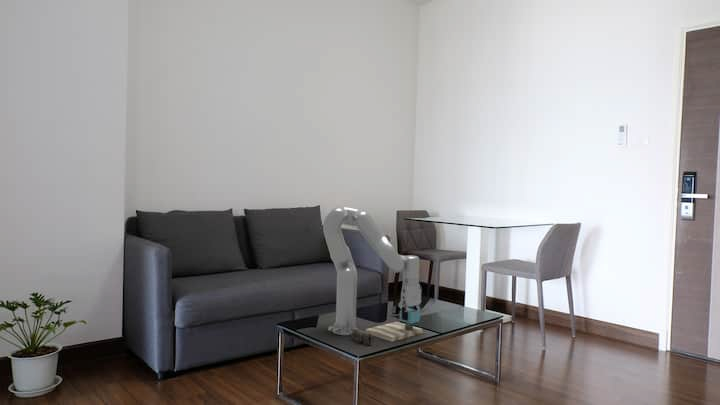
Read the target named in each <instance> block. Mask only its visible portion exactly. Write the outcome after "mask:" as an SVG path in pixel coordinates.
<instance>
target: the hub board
mask: <svg viewBox="0 0 720 405" xmlns="http://www.w3.org/2000/svg"><path fill="white" fill-rule="evenodd" d="M423 330H424V328H421V327H417V326H414V323H411V324H410V323H406V322H404V323H403V322H402V323H401V322H399V321H394V322H390V323H385V324H382V325H381V324H380V325H377V326H373V327H370V328H365V331H367V332H369V333H370V334H371V336H372V337H376V338H379V339H383V340H385V341H389V342H392V343H393V342H397V341H399V340H403V339H407V338H410V336H411V337H414V336H417V334H418V335H421V334H423V333H424V331H423ZM420 333H421V334H420Z"/></svg>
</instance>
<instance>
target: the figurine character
mask: <svg viewBox="0 0 720 405" xmlns="http://www.w3.org/2000/svg"><path fill="white" fill-rule="evenodd" d="M404 308H406V307H404ZM408 308H410V309H413V306H411V307H408ZM400 310H401V309H400V307H399V306H398V304H396V305H394V306H391V308H390V311H391V313H392V314H395V316H397V317H396V318H400Z"/></svg>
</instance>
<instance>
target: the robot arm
mask: <svg viewBox="0 0 720 405" xmlns="http://www.w3.org/2000/svg"><path fill="white" fill-rule="evenodd" d="M342 225H344V226H352V227H356V228H357V229H358V231H359V232H360V234H362V236H363V237H364V239H365V240H366V241H367V242H368V244H369V245H370V246H371V247H372V249H373V250H374V251H375V253H377V255H378V256H379V257H380V259H381V260H382V261H383V262H384V264H385V265H386V266H387V268H388V270H390V271H391V272H393V273H397V274H398V273H401V272H402V285H401V286H402V287H401V292H400V301H399V302H398V304H397V305H398V306H399V307H400V309H401V311H402V320H406V321H407V320H408V312H407V310H408V307H411V306H413V309H415V310H418V309H419V306H420V307H421V303H422V302H423V301H422V291H421V292H420V286H421V284H420V282H419V281H420V280H419V279H420V257H419V256H417V255H409V254H408V255H402V254H399V253H398V251H397V250H396V248H394V246H393V245H392V243H391V242H390V240H389V239H388V237H387V236H386V234H385V233H384V231H383V229H381V228H380V226H379V225H378V224H377V223H376V221H375V220H374V219H373V217H372V216H371V215H370V213H369V212H368V211H366V210H363V209H357V208H356V209H355V208H350V207H345V206H335V207H333V208H332V209H331V210H329V213H327V215H326V216H325V218H324V220H323V225H322V231H323V236H324V239H325V242H326V246H327V249H328V252H329V256H330V259H331V261H332V262H333V264H334V268H335V271H336V274H337V275H336V304H335V306H336V307H335V322H334V323H333V325H331V326H328V327H327V329H328V331H329V332H330V331H332V332H331V333H333V334H335V335H338V336H351V335H350V333H351V334H352V333H353V331H352V330H355V329H358V327H357V326H356V325H357V324H356V323H357V322H356V320H357V319H356V318H357V296H358V295H357V294H358V293H357V292H358V291H357V290H358V272H357V268H356V264H355V262H354V259H353V256H352V252H351V250H350V248H349V246H348V245H347V244H346V241H345V239H344V234H343V231H342ZM419 284H420V285H419ZM404 307H406V308H404ZM419 310H420V309H419ZM351 329H352V330H351Z"/></svg>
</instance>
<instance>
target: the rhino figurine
mask: <svg viewBox="0 0 720 405" xmlns="http://www.w3.org/2000/svg"><path fill="white" fill-rule="evenodd" d="M351 330H352V329H351ZM352 331H353V333H352V334H351V333H350V335H349V336H350V337H351V339H354V338H356V342H355V343H357V344H359V343H363V344H362V345H363V346H364V347H365V346H367V345H368V346H373V341H372V339H373V338H372V337H373V336H372V335H371V334H370V333H369V332H367V331H366V330H362V329H361V328H357V329H355V330H352ZM368 342H369V344H367V343H368Z"/></svg>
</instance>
